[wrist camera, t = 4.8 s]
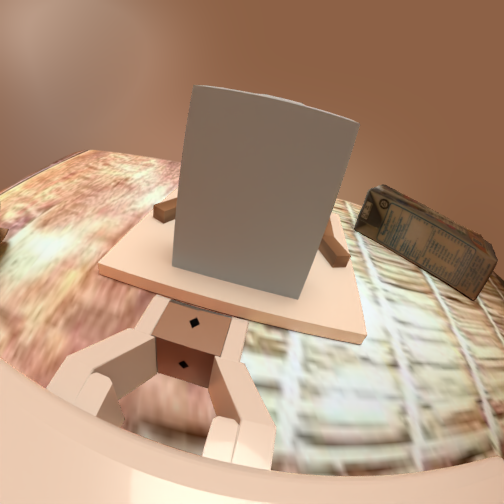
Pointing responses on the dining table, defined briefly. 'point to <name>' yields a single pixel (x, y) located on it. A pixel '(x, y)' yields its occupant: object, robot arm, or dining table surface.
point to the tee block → (257, 187)
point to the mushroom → (3, 234)
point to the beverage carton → (427, 239)
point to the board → (237, 296)
